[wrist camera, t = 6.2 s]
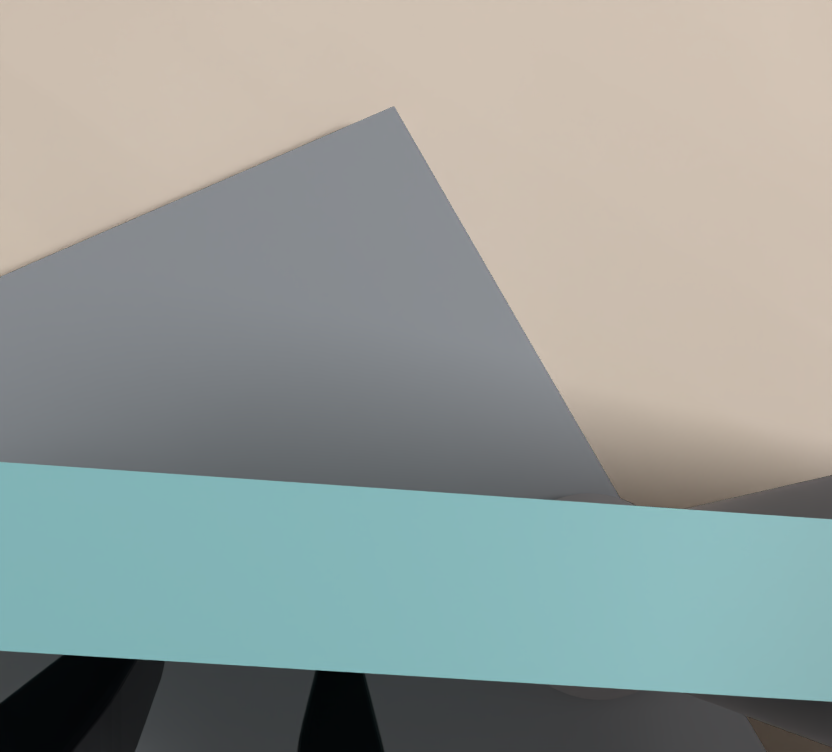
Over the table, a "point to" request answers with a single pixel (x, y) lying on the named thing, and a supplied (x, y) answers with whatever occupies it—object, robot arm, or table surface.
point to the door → (428, 584)
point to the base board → (316, 415)
